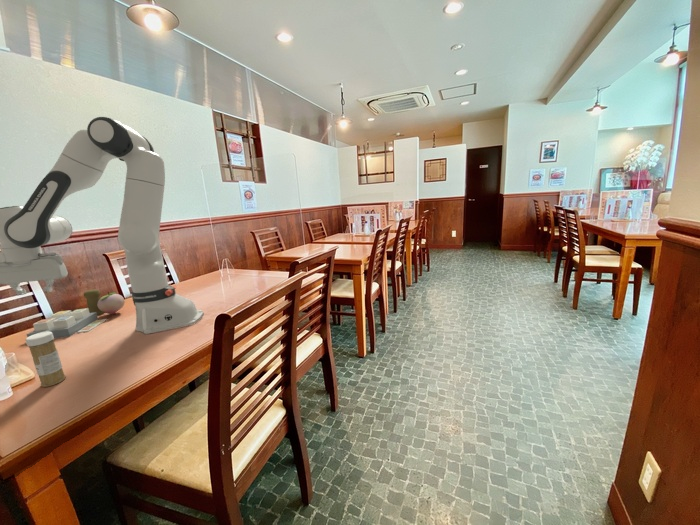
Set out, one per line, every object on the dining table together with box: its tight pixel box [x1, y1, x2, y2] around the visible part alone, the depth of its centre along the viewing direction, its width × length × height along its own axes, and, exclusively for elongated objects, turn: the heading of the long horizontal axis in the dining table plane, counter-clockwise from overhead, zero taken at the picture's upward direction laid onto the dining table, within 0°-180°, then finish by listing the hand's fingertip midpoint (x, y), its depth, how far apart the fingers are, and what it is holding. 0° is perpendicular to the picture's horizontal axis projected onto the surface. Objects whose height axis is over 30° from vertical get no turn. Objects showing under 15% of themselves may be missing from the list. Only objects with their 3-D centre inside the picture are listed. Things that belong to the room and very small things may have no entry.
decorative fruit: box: [97, 291, 125, 315], centre depth 118 cm, size 9×8×10 cm
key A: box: [50, 309, 72, 320], centre depth 107 cm, size 4×4×4 cm
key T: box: [32, 318, 56, 331], centre depth 100 cm, size 4×4×4 cm
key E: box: [69, 308, 90, 319], centre depth 109 cm, size 4×4×4 cm
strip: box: [76, 318, 108, 334], centre depth 107 cm, size 4×11×1 cm, turn 14°
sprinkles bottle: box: [25, 331, 67, 388], centre depth 70 cm, size 5×5×14 cm
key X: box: [53, 316, 76, 329], centre depth 101 cm, size 4×4×4 cm
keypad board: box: [26, 312, 99, 339], centre depth 105 cm, size 12×16×3 cm
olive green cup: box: [83, 288, 104, 317], centre depth 119 cm, size 6×6×11 cm
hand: (35, 293), depth 97 cm, fingers open, 6 cm apart
